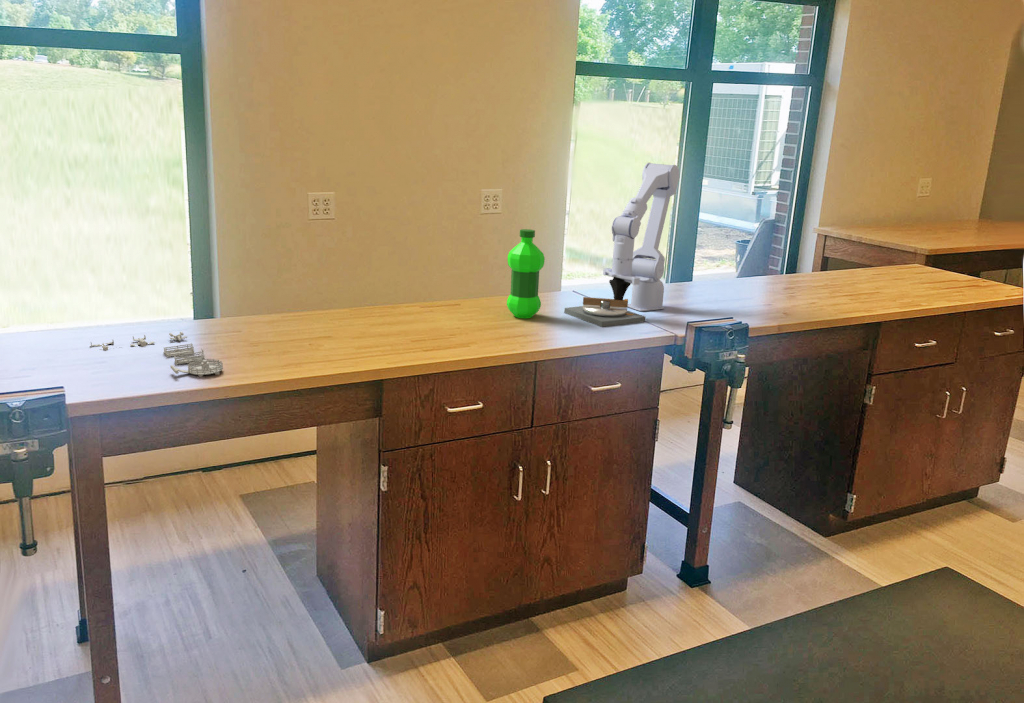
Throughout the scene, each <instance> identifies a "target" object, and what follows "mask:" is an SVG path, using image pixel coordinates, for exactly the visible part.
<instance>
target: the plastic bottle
mask: <svg viewBox="0 0 1024 703" xmlns="http://www.w3.org/2000/svg"><path fill="white" fill-rule="evenodd" d="M535 236H536V230H535V229H530V228H529V229H527V228H526V229H523V228H521V229H519V237H520V238H521V240H520V242H519V243H517V244H516V246H514V247H512V249H511V250H510V251H509V252H508V254H507V265H508V266H509V268H510V270H511V277H510V279H511V280H510V294H508V297H507V300H506V307H507V310H509V312H510V313H511V314H512V315H513V316H514V317H515V318H518V319H531V318H533V316H534V315H536V314H537V313H538V312H539V311H540V309H541V307H542V301H541V299H540V297H539V287H540V285H539V283H540V271H541V270H542V269H543V268H544V265H545V256H544V253H543V252H542V250H540V248H539V247H538V246H537V245H536V244H534V242H533V241H534V240H533V239H534V238H535Z"/></svg>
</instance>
